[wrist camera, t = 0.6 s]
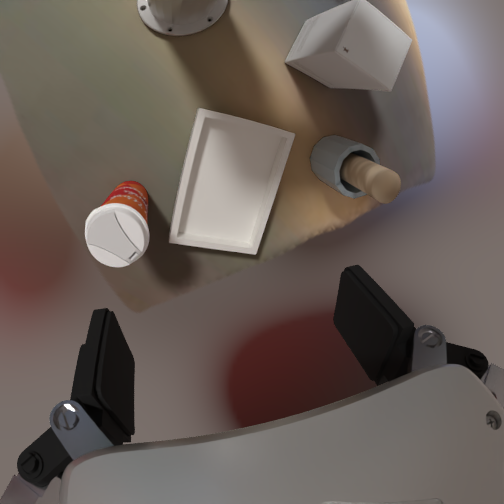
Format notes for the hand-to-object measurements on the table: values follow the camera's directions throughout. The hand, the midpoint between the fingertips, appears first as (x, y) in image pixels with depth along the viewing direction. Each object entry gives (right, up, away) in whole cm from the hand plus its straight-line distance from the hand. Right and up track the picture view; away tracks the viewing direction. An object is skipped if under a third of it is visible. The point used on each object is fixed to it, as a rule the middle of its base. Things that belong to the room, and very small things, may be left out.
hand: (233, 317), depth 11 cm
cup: (+14, +18, +34) cm, 41 cm away
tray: (-3, +13, +32) cm, 35 cm away
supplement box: (+11, +33, +25) cm, 43 cm away
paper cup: (-18, +11, +30) cm, 36 cm away
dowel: (+14, +17, +34) cm, 40 cm away
